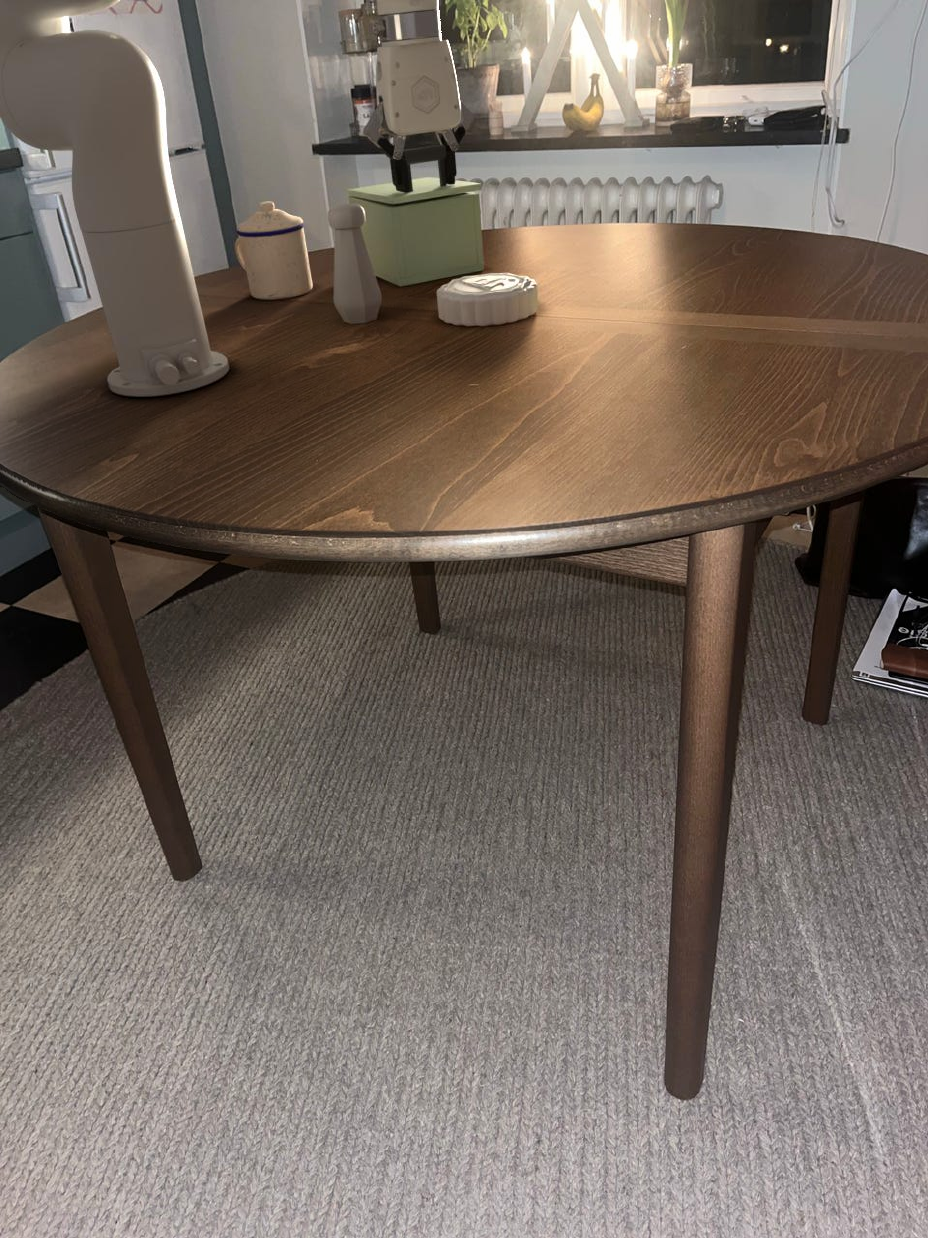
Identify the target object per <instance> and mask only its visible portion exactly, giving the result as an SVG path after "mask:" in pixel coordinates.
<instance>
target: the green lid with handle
mask: <svg viewBox="0 0 928 1238" xmlns="http://www.w3.org/2000/svg"><path fill="white" fill-rule="evenodd" d="M445 158H446V148H445V146H444V145H441V144H437V145H430V146H423V147H417V148H409V149H403V159H406V161H407V168H408V178H409V187H410V190H409V191H408V192H405V193H404V192H400V191H397V190H396V186H394V185H393V182H388V183H381V184H375V185H368V186H362V187H356V188H348V189H347V195H348V197H349V196H353V197H359V198H364V199H369V200H374V201H379V202H384V203H389V204H398V203H405V202H411V201H417V200H423V199H429V198H435V197H441V196H447V195H453V194H459V193H465V192H477V191H482V183H481V182H472V181H464V180H456V179H455V184H452V185H450V184H446V174H445V164H444V159H445ZM431 162H437V167H438V168H437V169H438V177H433V176H427V177H420V178H414V179H413V178H412V169H411V165H417V164H424V163H431Z"/></svg>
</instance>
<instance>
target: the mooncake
mask: <svg viewBox="0 0 928 1238" xmlns="http://www.w3.org/2000/svg"><path fill="white" fill-rule="evenodd" d="M435 293H436V302H437V312H438V318H439V320H441V321H443V322H444V323H446V324H452V325H453V326H464V327H489V326H501V325H504V324H511V323H515V322H518V321H521V320H525V319H528V317H529V316H530V317H531V316H533V315H535V314H536V312H537V311H538V309H539V298H538V297H539V295H538V284H537V282H536V280H534V279H532V278H530V277H529V276H528V275H518V274H513V273H510V272H500V273H499V272H490V273H484V274H476V275H465V276H462V277H460V278H455V279H454V278H453V279H452V280H451V281H449V282H448V283H446V284H443V285H441V286H440V288H438V289H437V290H436V292H435Z"/></svg>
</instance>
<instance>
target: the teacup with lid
mask: <svg viewBox="0 0 928 1238" xmlns="http://www.w3.org/2000/svg"><path fill="white" fill-rule="evenodd" d="M275 207H276V206H275V203H274V202H273V201H271V200H269V201H268V200H267V201H262V202H259V204H258V208H259V210H258V211H256V212H254V213H253V214H252V215H251V216H250V217H249V218H248V219H247V220H245V221H243V222H240V223H239V224H238V225H237V227H236V234H237V236H238V237H237V238H236V240H235V242H234V251H235V255H236V258H237V260H238V263H239V264H240V266H241V267H242V268H243V270H244V271H246V277H247V281H248V282H247V283H248V287H249V292H250V295H251V296H252V298H254V299H257V300H264V301H265V300H266V301H269V300H271V301H273V300H274V301H275V300H284V299H290V298H291V299H292V298H295V297H298V296H302V295H305V294H307V293H309V292H310V291H311V290H312V289H313V287H314V285H313V280H312V272H311V267H310V261H309V253H308V249H307V241H306V236H305V230H304V228H305V225H306V224H305V222H304V220H303V219H302V217H300V216H298V215H291V214H289V213H288V212H286V211H284V210H282V209H278V208H275Z"/></svg>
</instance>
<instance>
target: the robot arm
mask: <svg viewBox="0 0 928 1238" xmlns="http://www.w3.org/2000/svg"><path fill="white" fill-rule="evenodd" d="M120 1H121V0H0V120H1V121H2V123H3V124H4V126H5V127H6V128H7V129H8V131H9V132H10V133H11V134H12V135H13V136H14V137H15V138H17V139H18V140H19V141H21V142H22V143H23V144H26V145H27V146H30V147H32V148H35V149H37V150H42V151H43V150H44V151H53V152H54V151H56V152H64V151H65V152H68V151H69V152H72V161H71V194H72V201H73V207H74V210H75V214H76V219H77V222H78V226H79V230H80V232H81V235H82V238H83V242H84V245H85V249H86V253H87V255H88V260H89V263H90V266H91V270H92V274H93V277H94V280H95V284H96V287H97V288H96V289H97V291H98V296H99V298H100V302H101V306H102V309H103V313H104V317H105V320H106V323H107V327H108V330H109V334H110V338H111V341H112V344H113V349H114V351H115V355H116V359H117V362H118V367H116V368H114V369H113V370H112V371H111V372H110V373H109V374H108V376H107V377H106V378H107V379H106V380H107V384H108V387H109V390H110V391H111V392H113V393H114V394H117V395H119V396H124V397H134V398H149V397H152V398H153V397H163V396H171V395H175V394H181V393H184V392H188V391H189V392H190V391H192V390H196V389H199V388H202V387H205V386H208V385H211V384H212V383H215V382H217V381H219V380H220V379H221V378H223V377H224V376H225V375H226V374H227V373H228V372H229V370H230V364H229V359H228V358H227V357H226V355H224V354H223V353H220V352H217V351H212V350H211V347H210V342H209V338H208V337H209V336H208V333H207V328H206V325H205V320H204V315H203V310H202V306H201V302H200V297H199V293H198V289H197V285H196V284H197V283H196V281H195V276H194V275H195V274H194V271H193V266H192V263H191V262H192V261H191V258H190V257H191V256H190V253H189V249H188V245H187V239H186V236H185V232H184V231H185V230H184V228H183V223H182V217H181V215H180V210H179V206H178V201H177V197H176V192H175V187H174V183H173V178H172V171H171V165H170V159H169V157H170V156H169V150H168V138H167V136H168V135H167V115H166V112H167V111H166V101H165V95H164V90H163V86H162V82H161V79H160V76H159V74H158V71H157V69H156V67H155V65H154V63H153V62H152V60H151V59H150V58H149V56H148V55H147V54H146V52H144V51H143V50H142V49H141V47H139V46H138V45H137V44H136V43H135V42H133V41H132V40H130V39H128V38H126V37H125V36H123V35H120V34H119V33H118V34H117V33H115V32H111V31H107V30H101V29H99V30H98V29H85V30H75V31H71V27H70V26H71V25H70V19H69V17H74V16H80V15H81V16H82V15H88V14H93V13H97V12H101V11H105V10H108V9H110V8H111V7H114V6H115V5H116V4H118V3H119V2H120ZM376 8H377V16H376V21H374V22H373V23H372V22H371V23H369V34H370V36H371V37H375V36H376V37H378V38H379V42H381V46H377V48H376V49H377V50H376V61H375V63H376V65H375V70H376V71H375V90H376V105H377V107H376V108H375V110H374V111H373V113H372V114H371V116H370V118H369V120H368V121H367V123H366V124H365V126H364V128H363V130H362V133H363V135H364V137H366V138H367V139H368V140H369V141H370V142H372V143H373V144H374V145H375V146H376V147H377V149H378V150H380V151H381V152H382V153H383V154H384V155H385V157H386V159H389V165H390V173H391V180H392V182H391V183H393V185H394V186H396V190H397V191H400V192H404V193H405V192H408V191H409V190H410V187H409V178H408V168H407V161H406V159H403V150H405V149H404V148H405V145H406V141H407V136H413V135H418V134H425V133H432V132H434V133H435V135H436V138H437V139H438V142H439V145H444V146H445V148H446V158H445V159H444V164H445V174H446V184H450V185H452V184H455V180H456V177H457V173H458V171H457V161H456V151H458V149H459V144H460V143H461V142H462V140H463V138H464V137H465V135H466V132H467V131H468V129H469V127H470V126H471V125H472V123H473V121H474V120H475V116H474V114H473V113H472V112H471V111H470V109H469V108H468V107H467V106H466V105H465V104H464V103H463V102H462V101H461V100H460V92H459V86H458V85H459V84H458V81H457V80H458V79H457V74H456V68H455V64H454V60H453V55H452V50H451V46H450V43H449V40H448V39H442V33H441V32H442V31H441V21H440V20H441V19H440V10H439V0H376ZM380 130H381V131H382V132H383V133H386V134H388V139H387V138H386V137H384V136H383V135H382V134H381V133H380Z"/></svg>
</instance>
